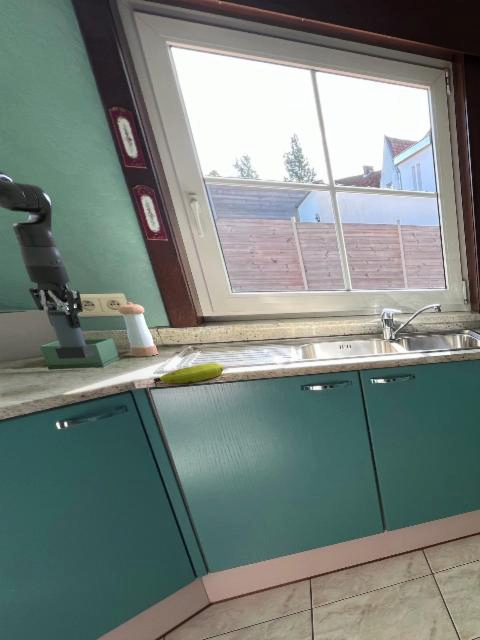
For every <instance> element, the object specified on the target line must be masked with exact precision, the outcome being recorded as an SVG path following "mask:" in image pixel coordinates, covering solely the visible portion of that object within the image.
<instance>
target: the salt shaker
mask: <svg viewBox="0 0 480 640" xmlns="http://www.w3.org/2000/svg"><path fill="white" fill-rule="evenodd" d="M145 310H146V309H145V308H144V307H143V306H142V305H140V304H136V303H133V302H132V301H127V302H126V304H121V305H119V306H118V312H119V313H120V314H122V316H123V319H124V320H123V321H124V322H125V326H126V333H127V340H128V342H129V344H130V346H129V349H130V352H131V356H132V357H133V356H135V357H134V358H143V357H142V356H148V357H153V356H152V355H155V356H157V355H156V354H158V355H159V352H158V349H157V345H156V344H155V343H154V340H153V336H152V334H151V332H150V329H149V327H148V326H147V322H146V319H145V316H144V313H145Z"/></svg>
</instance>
